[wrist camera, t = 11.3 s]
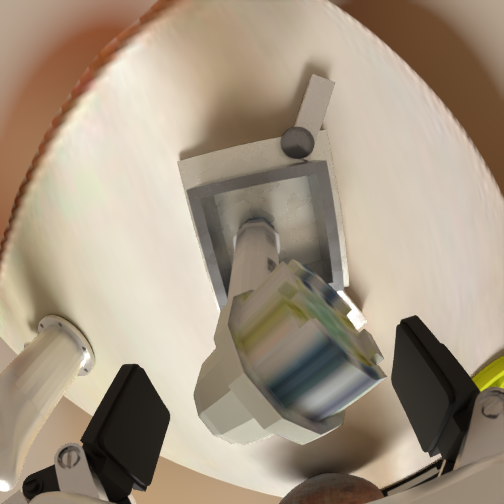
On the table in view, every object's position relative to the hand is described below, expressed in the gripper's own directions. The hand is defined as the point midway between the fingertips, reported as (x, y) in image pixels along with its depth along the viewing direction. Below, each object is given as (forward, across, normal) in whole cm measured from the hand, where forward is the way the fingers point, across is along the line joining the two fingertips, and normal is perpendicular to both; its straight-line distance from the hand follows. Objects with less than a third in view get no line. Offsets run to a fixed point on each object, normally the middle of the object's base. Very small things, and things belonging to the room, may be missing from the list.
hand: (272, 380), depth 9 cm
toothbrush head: (+22, 0, 0) cm, 22 cm away
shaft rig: (+23, -1, 0) cm, 23 cm away
